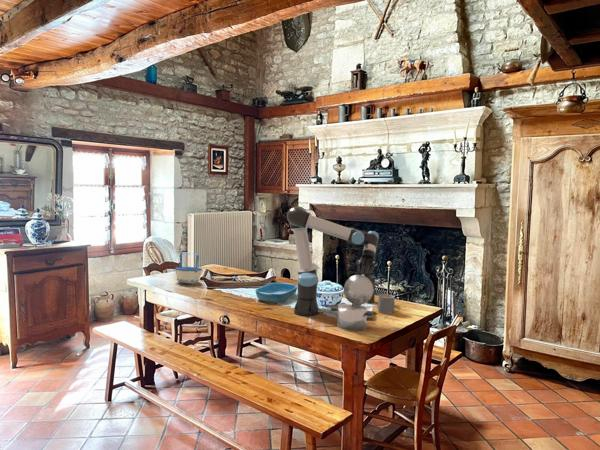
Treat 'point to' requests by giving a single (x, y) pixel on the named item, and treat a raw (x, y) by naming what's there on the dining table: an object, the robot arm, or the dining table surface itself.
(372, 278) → the canister
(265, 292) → the casserole dish
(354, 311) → the pressure cooker pot
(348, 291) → the lid
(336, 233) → the robot arm
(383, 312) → the coffee mug
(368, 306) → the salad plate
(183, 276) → the basket
